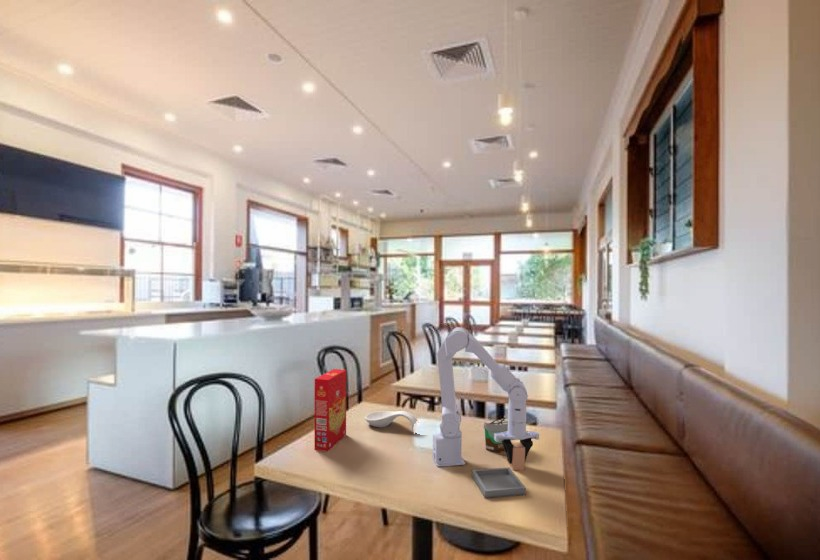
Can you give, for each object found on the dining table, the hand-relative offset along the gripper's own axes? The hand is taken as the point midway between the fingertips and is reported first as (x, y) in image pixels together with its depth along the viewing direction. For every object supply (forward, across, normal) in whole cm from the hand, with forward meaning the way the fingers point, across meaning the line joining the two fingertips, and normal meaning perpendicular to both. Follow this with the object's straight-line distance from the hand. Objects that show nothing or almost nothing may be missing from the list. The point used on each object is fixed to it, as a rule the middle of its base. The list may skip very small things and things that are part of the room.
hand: (516, 461), depth 130 cm
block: (+2, 0, 0) cm, 2 cm away
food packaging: (+2, +60, -27) cm, 66 cm away
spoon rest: (+2, +36, -38) cm, 53 cm away
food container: (+2, 0, -13) cm, 13 cm away
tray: (+2, +10, +10) cm, 14 cm away
